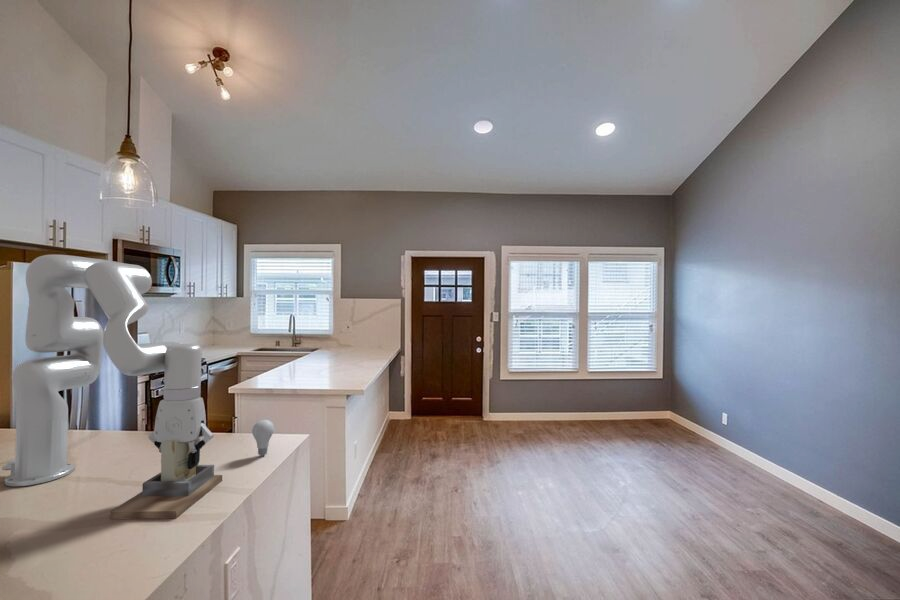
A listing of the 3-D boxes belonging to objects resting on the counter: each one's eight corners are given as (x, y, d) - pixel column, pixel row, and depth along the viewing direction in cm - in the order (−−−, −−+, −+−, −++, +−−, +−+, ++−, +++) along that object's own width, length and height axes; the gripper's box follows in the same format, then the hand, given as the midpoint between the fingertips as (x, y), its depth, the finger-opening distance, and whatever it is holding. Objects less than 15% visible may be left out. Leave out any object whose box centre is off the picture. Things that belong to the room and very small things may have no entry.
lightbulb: (258, 461, 114) (259, 424, 114) (247, 456, 117) (248, 420, 117) (277, 454, 119) (278, 419, 119) (266, 450, 122) (266, 416, 123)
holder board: (109, 518, 82) (110, 497, 83) (167, 480, 100) (168, 463, 101) (176, 518, 83) (176, 497, 83) (222, 480, 101) (222, 463, 101)
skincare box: (176, 492, 91) (175, 441, 91) (159, 491, 92) (159, 440, 92) (197, 479, 98) (197, 432, 98) (182, 478, 98) (182, 431, 98)
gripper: (135, 397, 91) (132, 473, 91) (208, 397, 92) (206, 473, 91) (158, 390, 99) (155, 460, 98) (225, 390, 99) (223, 460, 99)
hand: (180, 466), depth 95 cm, fingers open, 5 cm apart
